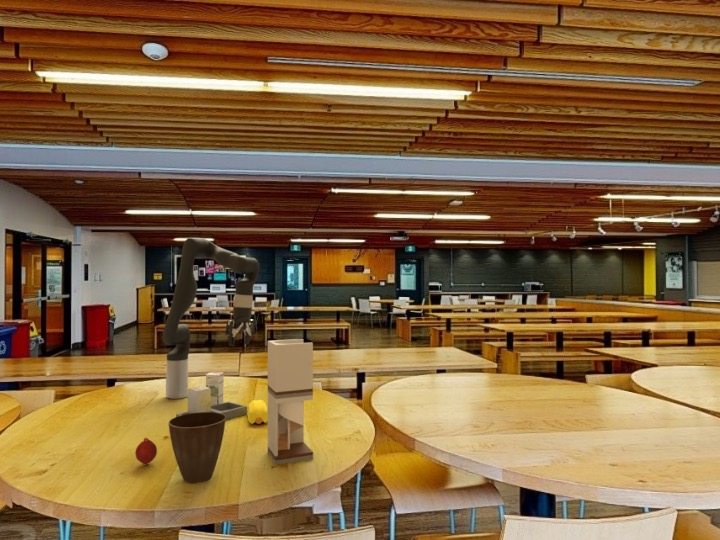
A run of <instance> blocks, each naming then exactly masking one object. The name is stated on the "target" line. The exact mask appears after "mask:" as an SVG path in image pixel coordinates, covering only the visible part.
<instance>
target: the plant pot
mask: <svg viewBox="0 0 720 540" xmlns="http://www.w3.org/2000/svg"><path fill="white" fill-rule="evenodd" d="M225 419H226V416H225V415H223V414H221V413H216V412H198V413H190V414H184V415H180V416H177V417H176V416H175V417H172V418H171V419H169V420H168V423H167V424H168V430H169V436H170V441H171V446H172V451H173V454H174V457H175V458H174V459H175V461H176V463H177V467H178V469H179V473H180V474H181V477H182V479H183V481H184V482H185V481H186V482H185V483H188V482H190V484H197V483H198V482H199V483H204V482H206V481H208V480H210V479H211V478H212V477H213V474H214V472H215V469H216V466H217V463H218V460H219V457H220V456H219V455H220V452H221V448H222V443H223V440H224V433H225V426H226V420H225ZM203 481H204V482H203ZM199 483H198V484H199Z"/></svg>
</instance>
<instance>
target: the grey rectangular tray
mask: <svg viewBox="0 0 720 540" xmlns="http://www.w3.org/2000/svg"><path fill="white" fill-rule="evenodd" d="M247 411H248V406H247V405H244V404H240V403H237V402H233V401H225V402H224V403H220V404H216V405H212V406H211V412H216V413H221V414H223V415H225V416H226V419H225V421H226V420H231V419H234V418H237V416H238V417H240V416H245V415H248V413H247ZM184 414H188V411H184V412H180V413H176V414H175V417H177V416H180V415H184ZM233 417H234V418H233Z"/></svg>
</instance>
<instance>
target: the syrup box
mask: <svg viewBox="0 0 720 540" xmlns="http://www.w3.org/2000/svg"><path fill="white" fill-rule="evenodd" d="M224 379H225V378H224V372H221V371H210V372H208V373H206V375H205V387H208V388H211V406H212V405H216V404H220V403H225V402H224Z"/></svg>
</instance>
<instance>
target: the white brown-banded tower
mask: <svg viewBox="0 0 720 540" xmlns="http://www.w3.org/2000/svg"><path fill="white" fill-rule="evenodd" d="M313 359H314V343H313V342H304V339H303V338H293V339H277V340H276V339H275V340H267V410H268V421H267V453H268V456H269V457H270V458H271V460H272V462H273V463H274V465H276V464H277V465H282V464H287V463H288V464H289V463H294V462H295V463H296V462H301V460H302V461H308V460H313V459H314V452H313V450H312V449H311V448H310V447H309V446H308V445H307V444H306V442H305V441H304V438H305V437H304V436H305V434H304V427H305V426H304V424H305V423H304V419H305V418H304V410H305V409H304V406H305V405H304V402H306V401H313V400H314V361H313ZM307 459H308V460H307Z"/></svg>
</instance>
